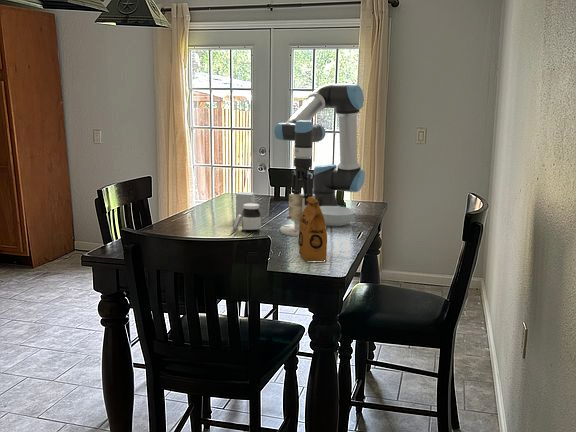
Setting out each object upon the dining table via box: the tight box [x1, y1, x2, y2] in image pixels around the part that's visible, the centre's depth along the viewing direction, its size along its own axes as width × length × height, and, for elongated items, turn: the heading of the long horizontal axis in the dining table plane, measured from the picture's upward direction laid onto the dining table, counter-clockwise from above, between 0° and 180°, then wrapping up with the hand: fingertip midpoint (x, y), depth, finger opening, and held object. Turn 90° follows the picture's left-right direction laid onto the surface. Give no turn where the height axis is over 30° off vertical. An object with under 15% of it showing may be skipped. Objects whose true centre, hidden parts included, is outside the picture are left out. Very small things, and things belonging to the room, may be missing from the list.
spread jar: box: [232, 202, 262, 234], centre depth 248 cm, size 12×11×12 cm
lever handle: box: [286, 193, 315, 222], centre depth 247 cm, size 12×9×11 cm
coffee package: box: [297, 197, 328, 262], centre depth 206 cm, size 10×12×22 cm
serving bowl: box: [320, 205, 356, 228], centre depth 264 cm, size 21×21×7 cm
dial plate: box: [279, 221, 300, 237], centre depth 249 cm, size 18×18×5 cm
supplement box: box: [235, 191, 256, 222], centre depth 270 cm, size 7×7×13 cm
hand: (301, 211), depth 247 cm, fingers closed on lever handle, 5 cm apart
